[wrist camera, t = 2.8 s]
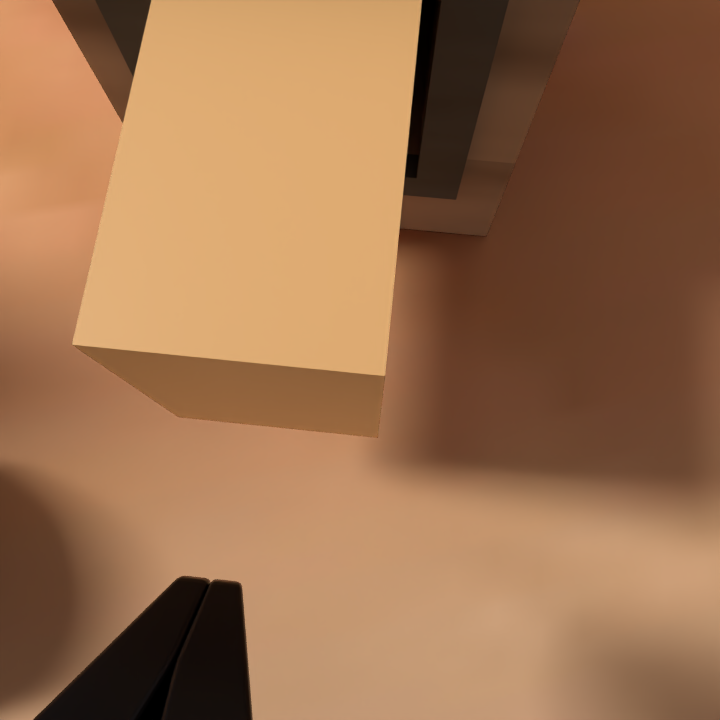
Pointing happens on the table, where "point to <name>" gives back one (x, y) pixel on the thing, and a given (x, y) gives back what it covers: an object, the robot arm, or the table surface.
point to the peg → (257, 212)
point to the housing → (430, 93)
